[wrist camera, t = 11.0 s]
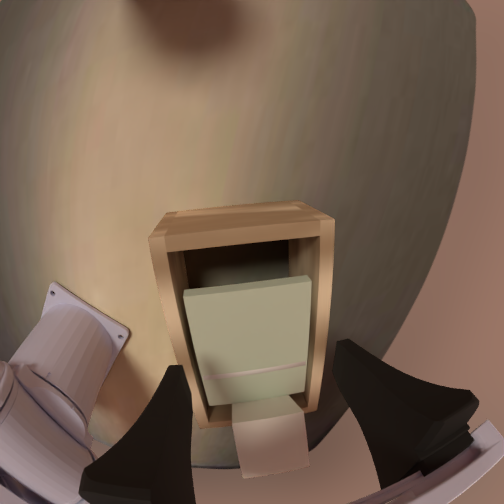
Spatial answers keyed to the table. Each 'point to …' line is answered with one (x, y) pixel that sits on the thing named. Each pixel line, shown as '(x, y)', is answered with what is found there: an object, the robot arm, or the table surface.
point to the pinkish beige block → (270, 436)
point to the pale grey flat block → (251, 338)
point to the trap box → (241, 232)
